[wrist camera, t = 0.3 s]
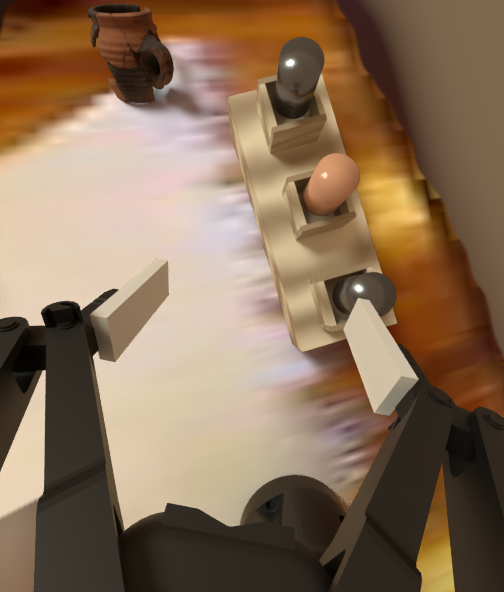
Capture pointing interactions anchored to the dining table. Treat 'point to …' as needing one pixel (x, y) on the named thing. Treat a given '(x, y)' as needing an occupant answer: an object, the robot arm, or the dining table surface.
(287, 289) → the beige long block
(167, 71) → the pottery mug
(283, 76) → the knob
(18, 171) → the dining table surface
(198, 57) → the dining table surface
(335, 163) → the knob middle
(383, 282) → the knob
